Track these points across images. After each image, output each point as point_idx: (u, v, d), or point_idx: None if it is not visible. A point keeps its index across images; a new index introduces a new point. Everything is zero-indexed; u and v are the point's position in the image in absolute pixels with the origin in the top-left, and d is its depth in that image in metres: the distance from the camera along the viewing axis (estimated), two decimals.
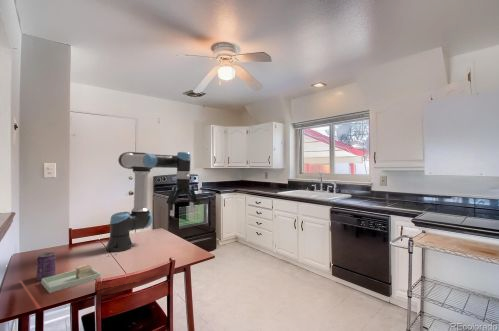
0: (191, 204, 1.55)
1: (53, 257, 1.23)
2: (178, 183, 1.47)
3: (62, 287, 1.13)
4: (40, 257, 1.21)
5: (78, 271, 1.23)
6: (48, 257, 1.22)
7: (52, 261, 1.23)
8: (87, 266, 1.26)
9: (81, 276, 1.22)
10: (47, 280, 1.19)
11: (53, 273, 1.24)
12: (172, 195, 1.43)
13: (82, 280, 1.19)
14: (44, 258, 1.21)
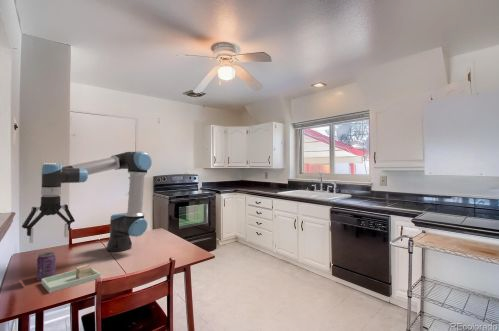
0: (65, 226, 1.29)
1: (53, 257, 1.23)
2: (41, 202, 1.21)
3: (62, 287, 1.13)
4: (40, 257, 1.21)
5: (78, 271, 1.23)
6: (48, 257, 1.22)
7: (52, 261, 1.23)
8: (87, 266, 1.26)
9: (81, 276, 1.22)
10: (47, 280, 1.19)
11: (53, 273, 1.24)
12: (29, 217, 1.17)
13: (82, 280, 1.19)
14: (44, 258, 1.21)
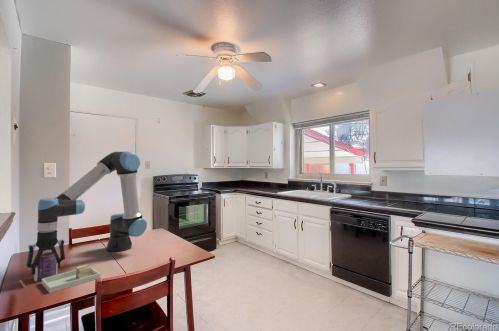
0: (55, 265, 1.26)
1: (53, 257, 1.23)
2: None
3: (62, 287, 1.13)
4: (40, 257, 1.21)
5: (78, 271, 1.23)
6: (48, 257, 1.21)
7: (52, 261, 1.23)
8: (87, 266, 1.26)
9: (81, 276, 1.22)
10: (47, 280, 1.19)
11: (53, 273, 1.24)
12: (30, 256, 1.18)
13: (82, 280, 1.19)
14: (44, 258, 1.21)
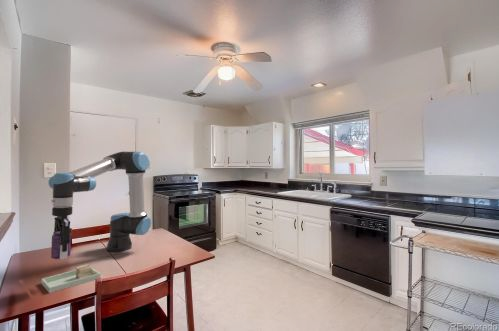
0: None
1: (56, 236, 1.14)
2: None
3: (62, 287, 1.13)
4: None
5: (78, 271, 1.23)
6: (53, 234, 1.15)
7: (54, 240, 1.14)
8: (87, 266, 1.26)
9: (81, 276, 1.22)
10: (47, 280, 1.19)
11: (55, 254, 1.14)
12: (54, 227, 1.21)
13: (82, 280, 1.19)
14: None
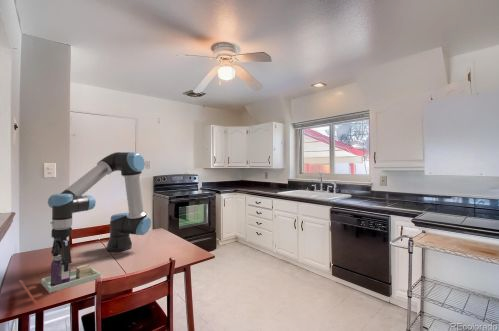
0: None
1: (55, 263, 1.14)
2: None
3: (62, 287, 1.13)
4: None
5: (78, 271, 1.23)
6: (52, 261, 1.15)
7: (53, 267, 1.14)
8: (87, 266, 1.26)
9: (81, 276, 1.22)
10: (47, 280, 1.19)
11: (54, 281, 1.14)
12: (53, 244, 1.21)
13: (82, 280, 1.19)
14: None
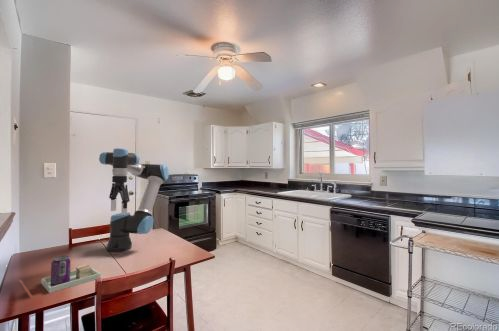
0: None
1: (55, 263, 1.14)
2: None
3: (62, 287, 1.13)
4: None
5: (78, 271, 1.23)
6: (52, 261, 1.15)
7: (53, 267, 1.14)
8: (87, 266, 1.26)
9: (81, 276, 1.22)
10: (47, 280, 1.19)
11: (54, 281, 1.14)
12: (111, 190, 1.50)
13: (82, 280, 1.19)
14: None
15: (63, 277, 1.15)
